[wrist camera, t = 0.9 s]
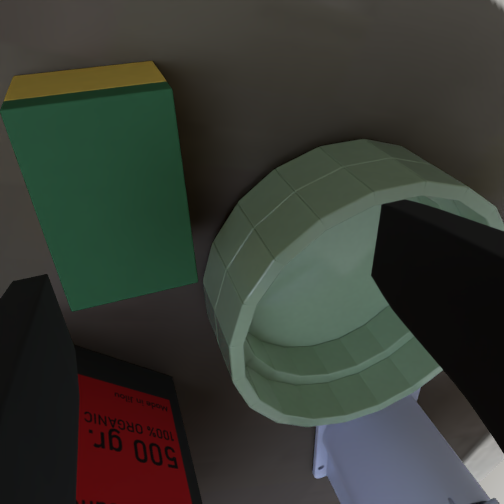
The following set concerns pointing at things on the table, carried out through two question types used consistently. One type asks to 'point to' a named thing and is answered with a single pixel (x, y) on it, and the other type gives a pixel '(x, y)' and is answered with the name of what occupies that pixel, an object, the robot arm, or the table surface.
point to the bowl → (323, 283)
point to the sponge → (104, 178)
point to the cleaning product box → (130, 436)
